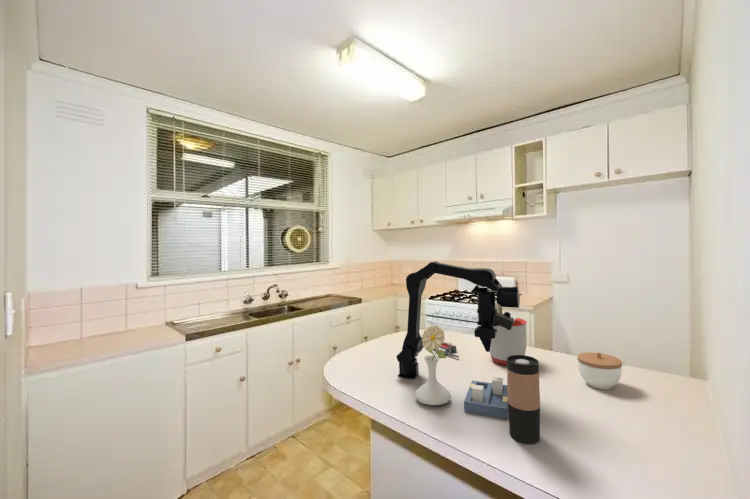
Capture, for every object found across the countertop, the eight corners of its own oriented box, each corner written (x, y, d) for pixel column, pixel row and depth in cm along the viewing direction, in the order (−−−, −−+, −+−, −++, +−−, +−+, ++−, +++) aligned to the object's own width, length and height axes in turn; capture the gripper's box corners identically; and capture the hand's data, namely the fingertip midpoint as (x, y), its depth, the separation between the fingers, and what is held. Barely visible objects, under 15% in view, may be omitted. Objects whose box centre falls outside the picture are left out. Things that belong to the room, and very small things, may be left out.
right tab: (492, 394, 106) (492, 380, 106) (493, 390, 109) (492, 376, 109) (502, 395, 105) (502, 381, 105) (503, 391, 108) (502, 378, 108)
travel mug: (503, 429, 89) (501, 355, 89) (530, 426, 90) (528, 353, 90) (517, 446, 82) (515, 366, 81) (547, 443, 82) (545, 364, 82)
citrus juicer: (530, 356, 142) (529, 310, 141) (524, 371, 127) (523, 319, 127) (493, 351, 150) (491, 307, 150) (483, 364, 136) (481, 315, 135)
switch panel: (464, 411, 99) (463, 400, 99) (472, 389, 114) (472, 379, 114) (507, 419, 94) (507, 408, 94) (510, 394, 109) (509, 385, 109)
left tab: (472, 402, 101) (472, 388, 101) (473, 398, 104) (473, 384, 104) (482, 404, 100) (482, 390, 100) (484, 399, 103) (483, 385, 102)
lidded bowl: (574, 386, 113) (573, 354, 113) (582, 374, 122) (581, 344, 122) (619, 397, 105) (619, 362, 104) (624, 383, 114) (624, 351, 114)
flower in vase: (408, 396, 110) (406, 321, 109) (437, 389, 114) (435, 317, 114) (430, 415, 98) (427, 331, 97) (461, 406, 102) (459, 325, 102)
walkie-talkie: (424, 349, 157) (457, 361, 141) (423, 340, 157) (456, 350, 141) (437, 345, 163) (470, 356, 146) (436, 336, 162) (470, 346, 146)
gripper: (511, 313, 101) (512, 363, 101) (512, 301, 118) (513, 345, 118) (473, 311, 105) (475, 359, 106) (480, 300, 122) (481, 342, 123)
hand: (487, 351), depth 113 cm, fingers closed
